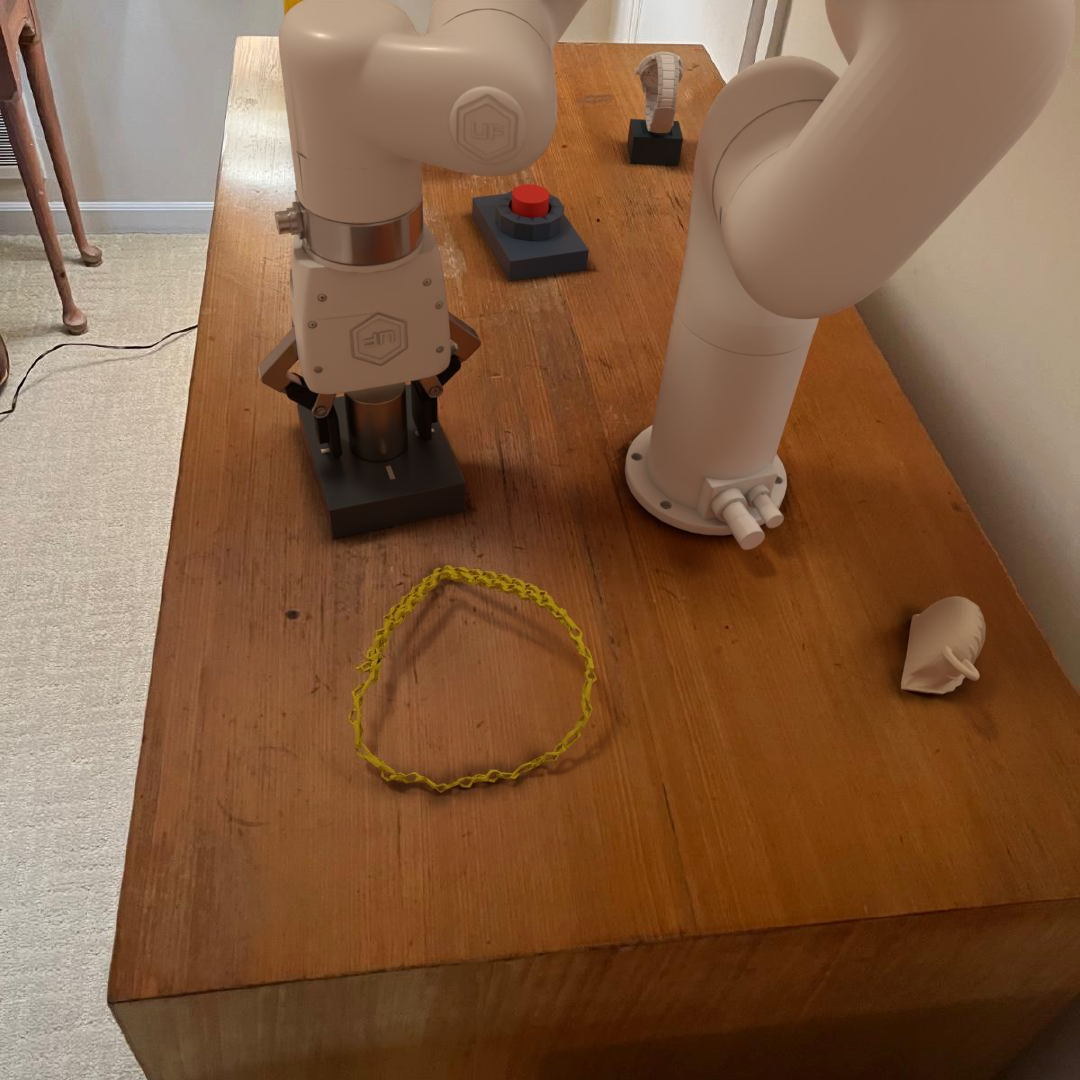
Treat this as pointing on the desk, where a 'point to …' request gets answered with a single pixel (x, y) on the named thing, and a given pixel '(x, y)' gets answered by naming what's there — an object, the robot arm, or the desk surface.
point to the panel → (383, 478)
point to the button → (530, 201)
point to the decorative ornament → (943, 646)
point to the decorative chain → (411, 602)
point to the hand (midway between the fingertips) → (378, 435)
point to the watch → (657, 112)
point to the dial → (377, 421)
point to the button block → (529, 238)
